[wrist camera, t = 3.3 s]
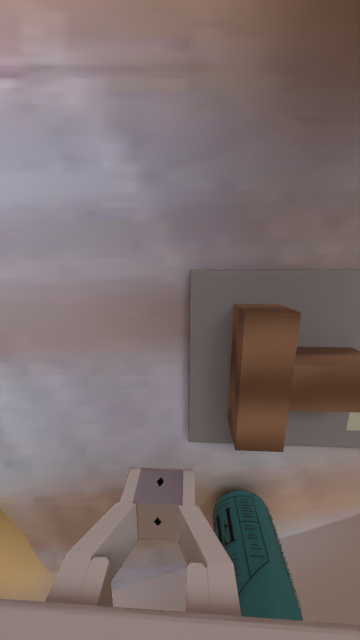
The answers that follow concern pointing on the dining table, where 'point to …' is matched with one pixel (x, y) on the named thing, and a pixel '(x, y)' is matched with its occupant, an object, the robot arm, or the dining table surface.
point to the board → (315, 331)
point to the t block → (282, 376)
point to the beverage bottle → (255, 557)
